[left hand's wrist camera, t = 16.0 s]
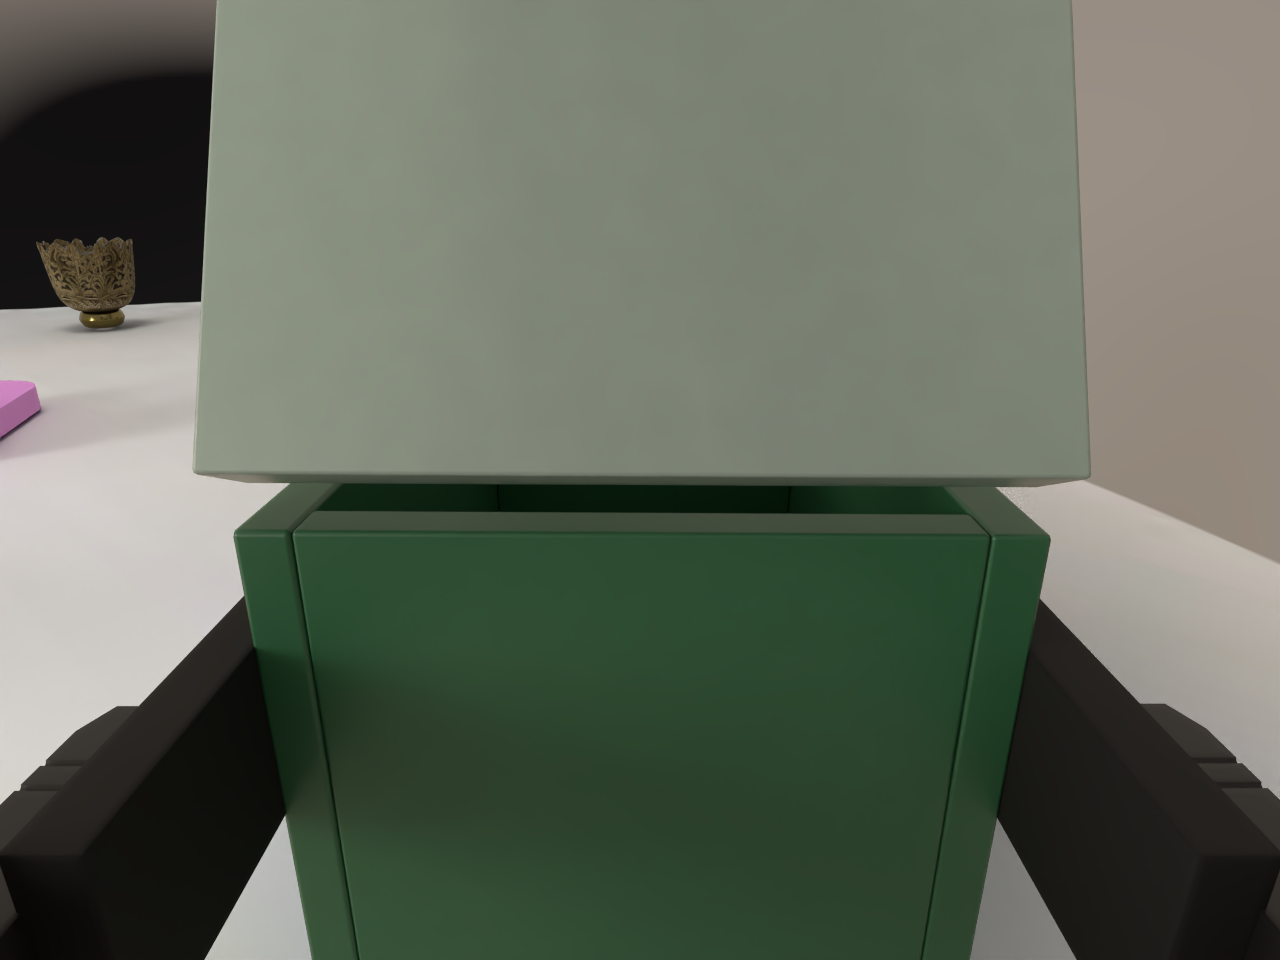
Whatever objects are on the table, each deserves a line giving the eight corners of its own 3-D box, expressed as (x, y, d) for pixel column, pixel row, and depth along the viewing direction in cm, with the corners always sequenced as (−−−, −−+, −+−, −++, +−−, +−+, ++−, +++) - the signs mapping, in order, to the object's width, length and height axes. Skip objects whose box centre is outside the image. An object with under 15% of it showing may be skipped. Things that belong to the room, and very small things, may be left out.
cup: (51, 335, 74) (28, 243, 71) (63, 323, 80) (42, 238, 77) (146, 329, 77) (128, 240, 74) (150, 318, 83) (134, 236, 80)
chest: (486, 627, 26) (465, 331, 23) (799, 629, 26) (823, 333, 23) (329, 1067, 13) (227, 532, 10) (950, 1074, 13) (1055, 537, 10)
